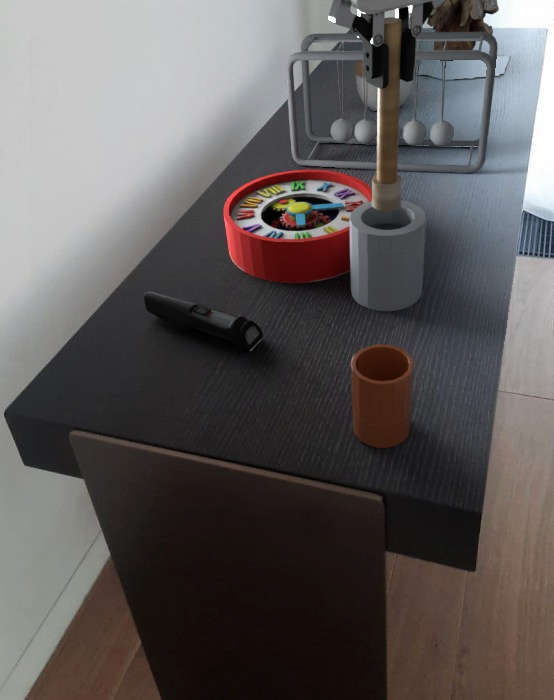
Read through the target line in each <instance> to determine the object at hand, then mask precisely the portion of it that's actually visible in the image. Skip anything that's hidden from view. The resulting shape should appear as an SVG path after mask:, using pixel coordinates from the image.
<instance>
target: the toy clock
mask: <svg viewBox="0 0 554 700" xmlns="http://www.w3.org/2000/svg"><path fill="white" fill-rule="evenodd" d="M371 201H372V186H370V185H369V184H368V183H366V182H365V181H363V180H361V179H359V178H357V177H355V176H352V175H349V174H347V173H343V172H338V171H334V170H326V169H325V170H324V169H296V170H295V169H294V170H288V171H282V172H277V173H272V174H269V175H264V176H261V177H259V178H255V179H254V180H251V181H249V182H247V183H245V184H243V185H242V186H240V187H239V188H236V190H234V191H233V192H232V194H230V195H229V196H228V198H227V199H226V201H225V202H224V205H223V220H224V227H225V233H226V240H227V247H228V253H229V257H230V259H231V261H232V262H233V263H234V265H235V266H236V267H237V268H238V269H239V270H241V271H242V272H244V273H246V274H248V275H250V276H252V277H254V278H257V279H261V280H264V281H269V282H275V283H281V284H282V283H283V284H284V283H286V284H308V283H313V282H314V283H315V282H321V281H325V280H329V279H334V278H337V277H339V276H342V275H345V274H347V273H349V272H350V225H349V219H350V214H351V213H352V211H353V210H354V209H355V208H357V207H359V206H360V205H362V204H364V203H367V202H371Z"/></svg>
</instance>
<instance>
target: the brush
mask: <svg viewBox="0 0 554 700" xmlns="http://www.w3.org/2000/svg"><path fill="white" fill-rule="evenodd" d="M401 27H402V20H401V19H400V18H395V16H390V17H385V20H384V41H383V44H386V45H388V47H389V74H388V86H387V87H386V88H383V89H380V88H378V87H377V112H376V126H377V136H376V138H377V145H376V162H377V170H376V175H374V176H373V177H372V179H371V189H372V206H373V208H375V209H377V210H380V211H392V210H396V209H398V208H399V207H400V206H401V200H402V193H403V191H402V190H403V178H402V176H401V175H399V174H398V163H399V146H398V136H399V124H400V109H399V99H400V63H401Z"/></svg>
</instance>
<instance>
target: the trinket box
mask: <svg viewBox="0 0 554 700" xmlns="http://www.w3.org/2000/svg"><path fill="white" fill-rule="evenodd" d="M354 68H355V69H354V72H355V84H356V89H357V94H358V96H359V98H360V100H361V101H362V103H363V104H364V87H363V64H362V60H359V61H358V62H357V63H356V64H355V65H354ZM414 83H415V66H414V72H413V80H412V81H410V82H405V81H403V80H401V79H400V99H399V106H401V107H402V106H403V105H404V104H405V103H406V102H407V101H408V99H409V98H410V96H411V94H412V92H413V91H412V90H413V87H414ZM364 86H365V106H366V90H367V82H366V80H365V76H364ZM402 104H403V105H402ZM368 107H370V108H374V109H377V87H376V86H374V85H372V84H369V83H368V91H367V108H368Z"/></svg>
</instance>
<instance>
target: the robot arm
mask: <svg viewBox="0 0 554 700" xmlns="http://www.w3.org/2000/svg"><path fill="white" fill-rule="evenodd" d="M445 1H446V0H333V1H332V4H331V7H330V10H329V14H328V20H329V22H330V23H333V24H335V25H338V26H341V27H343V28H347V29H349V30H350V31H351V32H352V33H355V34H356V35H357V36H358V39H359V40H361V41H363V42H362V51H363V73H364V76H365V80H366V82H367V83H369V84H372V85H374V86H376V87H378V88H380V89H383V88H386V87H387V86H388V74H389V47H388V45H386V44H383V41H384V20H385V18H386V17H385V16H386V12H390V11H394V13H395V16H394V17H395V18H400V19H401V20H402V27H401V63H400V79H401V80H403V81H405V82H410V81H412V80H413V72H414V73H415V70H414V66H415V50H416V48H417V42H416V37H419V36H420V34H421V33H422V32H423V25H424V24H426V22H427V21H428V17H429V16H430V14H431V13H432V10H433V9H434V10H435V9H436V8H437V7H438V6H440V5H441V4H442V3H443V2H445ZM352 7H353V8H354V9H355V8H356V9H357V14H355V13H352V10H351V8H352Z"/></svg>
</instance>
